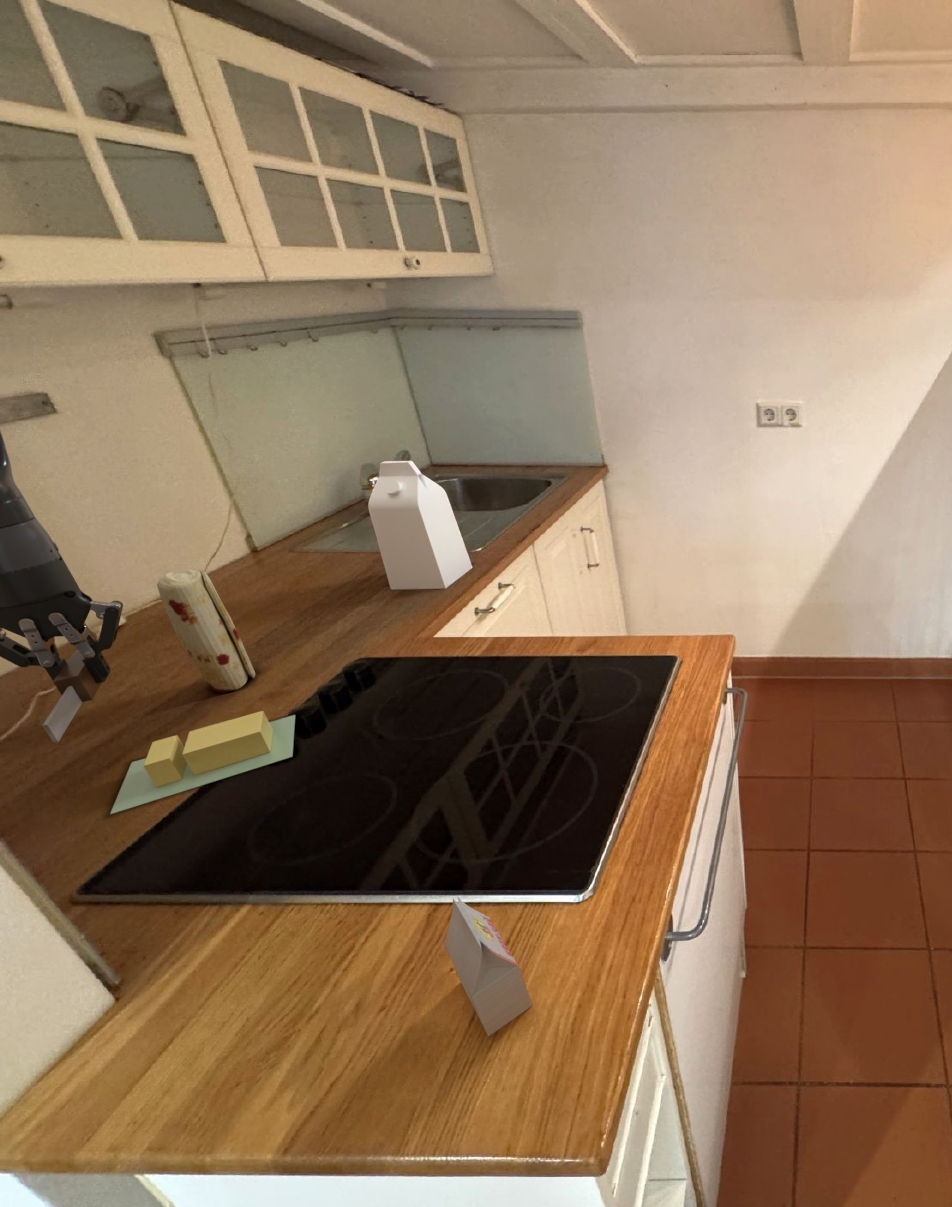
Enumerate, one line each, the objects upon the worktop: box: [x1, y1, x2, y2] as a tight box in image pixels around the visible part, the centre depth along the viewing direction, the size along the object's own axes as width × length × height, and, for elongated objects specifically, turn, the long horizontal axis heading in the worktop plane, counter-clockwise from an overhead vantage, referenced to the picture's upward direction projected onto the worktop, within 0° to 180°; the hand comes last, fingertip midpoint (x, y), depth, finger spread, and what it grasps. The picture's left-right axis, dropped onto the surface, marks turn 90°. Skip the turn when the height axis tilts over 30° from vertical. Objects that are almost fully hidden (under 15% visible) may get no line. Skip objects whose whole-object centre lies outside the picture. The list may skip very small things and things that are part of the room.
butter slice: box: [143, 734, 187, 787], centre depth 85 cm, size 2×6×4 cm, turn 35°
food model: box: [156, 568, 256, 694], centre depth 103 cm, size 10×7×20 cm
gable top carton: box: [444, 895, 533, 1037], centre depth 56 cm, size 4×7×10 cm, turn 45°
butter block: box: [182, 710, 273, 775], centre depth 89 cm, size 8×6×4 cm
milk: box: [367, 460, 473, 591], centre depth 140 cm, size 12×12×26 cm
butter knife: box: [41, 650, 103, 744], centre depth 81 cm, size 2×19×4 cm, turn 35°
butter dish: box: [109, 714, 296, 815], centre depth 88 cm, size 18×12×1 cm, turn 125°
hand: (87, 683), depth 86 cm, fingers closed on butter knife, 2 cm apart
